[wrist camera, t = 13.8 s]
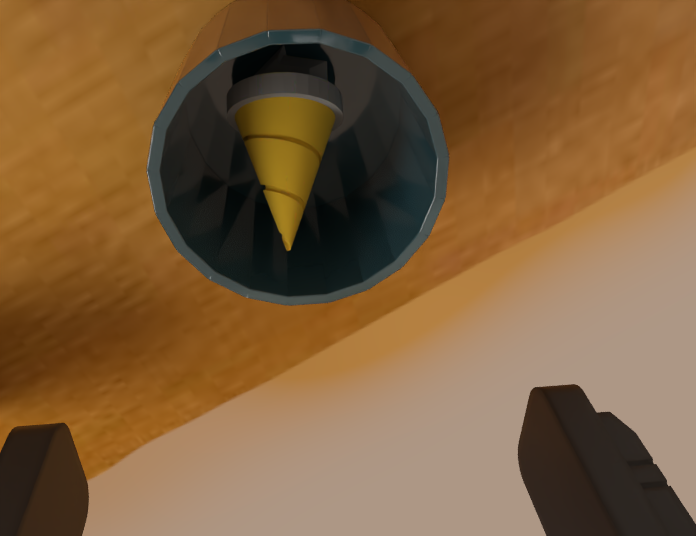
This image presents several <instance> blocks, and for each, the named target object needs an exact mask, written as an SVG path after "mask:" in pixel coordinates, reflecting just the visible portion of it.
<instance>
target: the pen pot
mask: <svg viewBox="0 0 696 536" xmlns="http://www.w3.org/2000/svg"><path fill="white" fill-rule="evenodd" d="M283 45H284V47H285V51H286V55H287V56H294V57H300V58H307V59H314V60H321V61H327V78H328V81H329V82H330V83H332V84H333V85H335V86H336V87H337V88H338V89H339V90H340V92H341V94H342V104H343V121H342V123H341V124H340V126H339V127H338V128H336V129H335V130H334V131H332V132H331V133H330V136H329V139H328V142H327V145H326V148H325V151H324V154H323V157H322V160H321V163H320V165H319V168H318V171H317V174H316V177H315V180H314V183H313V186H312V189H311V192H310V195H309V198H308V200H307V203H306V206H305V209H304V211H303V215H302V218H301V221H300V224H299V227H298V230H297V232H296V235H295V238H294V241H293V244H292V247H291V250H290V251H287V250H286V247H285V245H284V243H283V240H282V234H281V233H280V232H279V230H278V227H277V225H276V222H275V220H274V217H273V215H272V212H271V210H270V207H269V205H268V202H267V200H266V197H265V194H264V192H263V190H265V189H266V187H265V185H261V184H260V182H259V179H258V177H257V174H256V172H255V169H254V167H253V164H252V162H251V159H250V157H249V154H248V151H247V149H246V146H245V144H244V141H243V139H242V136H241V134H240V132H239V131H237V130H235V129H234V128H233V127H232V126H231V125H230V124H229V123H228V121H227V93H228V91H229V89H230V88H231V87H232V86H233V85H234V84H236V83H238V82H239V81H241V80H243V79H246V78H248V77H251V76H254V75H255V74H256V73H257V72H258V71H259V70H260V69H261V68H262V67H263V66H264V64H265V63H266V62H267V61H268V60H269V59H270V58H271V57H272V56H273V55H274V54H275V53H276V52H277V51H278V50H279V49H280V48H281V47H282V46H283ZM448 167H449V152H448V148H447V144H446V140H445V136H444V132H443V128H442V125H441V121H440V117H439V114H438V111H437V110H436V108H435V107H434V105H433V104H432V102H431V101H430V99H429V98H428V96H427V95H426V93H425V92H424V90H423V89H422V87H421V86H420V84H419V83H418V81H417V80H416V78H415V77H414V76H413V74H412V73H411V71H410V70H409V68H408V67H407V65H406V64H405V62H404V61H403V59H402V58H401V56H400V55H399V53H398V52H397V50H396V49H395V47H394V46H393V44H392V43H391V41H390V40H389V38H388V37H387V35H386V34H385V32H384V31H383V30H382V28H381V27H380V25H379V24H378V23H376V22H375V21H374V20H372V19H371V18H370V17H369V16H368V15H367V14H366V13H365V12H363V11H362V10H361V9H359V8H358V7H356V6H355V5H353V4H352V3H350V2H349V1H347V0H237V1H235V2H233V3H231V4H230V5H228V6H226V7H225V8H224V9H223V10H221V11H220V12H219V13H217V14H216V15H215V16H214V17H213V18H212V19H211V20H210V21H209V22H208V23H207V24H206V25H205V26H204V27H203V28H202V29H201V30H200V31H199V33H198V35H197V37H196V38H195V40H194V42H193V44H192V46H191V47H190V49H189V51H188V53H187V54H186V56H185V58H184V60H183V62H182V64H181V66H180V68H179V70H178V72H177V75H176V77H175V79H174V81H173V83H172V85H171V88H170V90H169V92H168V94H167V96H166V98H165V101H164V103H163V105H162V107H161V109H160V111H159V114H158V116H157V118H156V120H155V122H154V125H153V131H152V137H151V143H150V150H149V156H148V162H147V176H148V181H149V186H150V191H151V196H152V201H153V206H154V211H155V213H156V216H157V218H158V219H159V221H160V223H161V224H162V226H163V228H164V230H165V231H166V233H167V235H168V236H169V238H170V240H171V242H172V243H173V245H174V247H175V248H176V250H177V251H178V252H179V253H180V254H181V255H182V256H183V257H184V258H185V259H186V260H188V261H189V262H190V263H191V264H192V265H193V266H194V267H195V268H196V269H198V270H199V271H200V272H201V273H202V274H203V275H204V276H205V277H206V278H207V279H209V280H211V281H213V282H215V283H217V284H219V285H221V286H223V287H225V288H227V289H229V290H231V291H234V292H236V293H238V294H240V295H242V296H244V297H247V298H250V299H256V300H261V301H266V302H271V303H276V304H282V305H304V304H320V303H328V302H329V303H330V302H333V301H336V300H339V299H342V298H345V297H348V296H351V295H354V294H357V293H360V292H363V291H366V290H368V289H370V288H372V287H373V286H375V285H376V284H378V283H379V282H381V281H382V280H384V279H385V278H387V277H388V276H390V275H391V274H393V273H395V272H396V271H398V270H399V269H401V268H402V267H403V266H404V265H405V264H406V263H407V261H408V260H409V259H410V258H411V257H412V256H413V254H414V253H415V252H416V251H417V250H418V249H419V247H420V246H421V245H422V244H423V243H424V242H425V240H426V239H427V238H428V236H429V235H430V233H431V231H432V228H433V226H434V224H435V221H436V219H437V217H438V215H439V212H440V210H441V208H442V205H443V203H444V201H445V197H446V189H447V178H448Z"/></svg>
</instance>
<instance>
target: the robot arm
mask: <svg viewBox="0 0 696 536" xmlns="http://www.w3.org/2000/svg"><path fill="white" fill-rule="evenodd" d="M518 461H519V467H520V472H521V475H522V479H523V481H524V484H525V486H526V488H527V491H528V493H529V495H530V498H531V500H532V502H533V505H534V507H535V510H536V512H537V514H538V517H539V519H540V521H541V524H542V526H543V529H544V531H545V533H546V536H696V524H695V523H694V521H693V519H692V518H691V516H690V515H689V513H688V512H687V510H686V509H685V507H684V506H683V504H682V503H681V501H680V500H679V498H678V497H677V495H676V494H675V492H674V490H673V489H672V487H671V486H668V485H667V480H666V478H665V477H664V475H663V474H662V472H661V471H660V469H659V468H658V466H657V465H656V464H653V459H652V457H651V456H650V454H649V453H648V451H647V449H646V448H645V446H644V445H643V443H642V442H641V440H640V439H639V437H638V436H637V434H636V433H635V432H634V431H633V430H631V429H630V428H629V427H628V426H627V425H625V424H624V423H623V422H622V421H621V420H619V419H618V418H617V417H616V416H615V415H613V414H612V413H611V412H600V413H596V411H595V409H594V408H593V406H592V404H591V403H590V402H589V400H588V398H587V396H586V395H585V393H584V391H583V390H582V389H581V388H580V387H579V386H578V385H575V384H572V385H559V386H547V387H535V388H533V389H532V391H531V392H530V396H529V400H528V404H527V409H526V413H525V417H524V422H523V426H522V431H521V435H520V440H519V445H518ZM88 494H89V493H88V484H87V480H86V477H85V474H84V471H83V468H82V465H81V462H80V459H79V456H78V454H77V451H76V448H75V445H74V442H73V439H72V436H71V433H70V430H69V428H68V426H67V425H66V424H65V423H56V424H43V425H31V426H18V427H15V428H13V429H12V430H11V432H10V433H9V435H8V437H7V439H6V441H5V444H4V446H3V448H2V450H1V453H0V536H82V533H83V530H84V526H85V523H86V518H87V513H88V502H89V495H88Z"/></svg>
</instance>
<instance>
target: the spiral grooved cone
mask: <svg viewBox="0 0 696 536" xmlns="http://www.w3.org/2000/svg"><path fill="white" fill-rule="evenodd" d="M227 121H228V123H229V124H230V125H231V126H232V127H233V128H234V129H235V130H237V131H239V132H240V134H241V136H242V139H243V141H244V144H245V146H246V149H247V151H248V154H249V157H250V159H251V162H252V164H253V167H254V169H255V172H256V174H257V177H258V179H259V182H260V184H261V185H265V187H266V189H265V190H263V192H264V194H265V197H266V200H267V202H268V205H269V207H270V210H271V212H272V215H273V217H274V220H275V222H276V225H277V227H278V230H279V232H280V233H281V234H282V240H283V243H284V245H285V247H286V250H287V251H290V250H291V247H292V244H293V241H294V238H295V235H296V232H297V230H298V227H299V224H300V221H301V218H302V215H303V211H304V209H305V206H306V203H307V200H308V198H309V195H310V192H311V189H312V186H313V183H314V180H315V177H316V174H317V171H318V168H319V165H320V163H321V160H322V157H323V154H324V151H325V148H326V145H327V142H328V139H329V136H330V133H331V132H332V131H334V130H335V129H336V128H338V127H339V126H340V124H341V123H342V121H343V104H342V94H341V92H340V90H339V89H338V88H337V87H336V86H335V85H333V84H332V83H330V82H329V81H328V78H327V61H321V60H314V59H307V58H300V57H294V56H287V55H286V51H285V47H284V45H283V46H282V47H281V48H280V49H279V50H278V51H277V52H276V53H275V54H274V55H273V56H272V57H271V58H270V59H269V60H268V61H267V62H266V63H265V64H264V66H263V67H262V68H261V69H260V70H259V71H258V72H257V73H256V74H255V75H254V76H251V77H248V78H246V79H243V80H241V81H239V82H238V83H236V84H234V85H233V86H232V87H231V88H230V89H229V91H228V93H227Z"/></svg>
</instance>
